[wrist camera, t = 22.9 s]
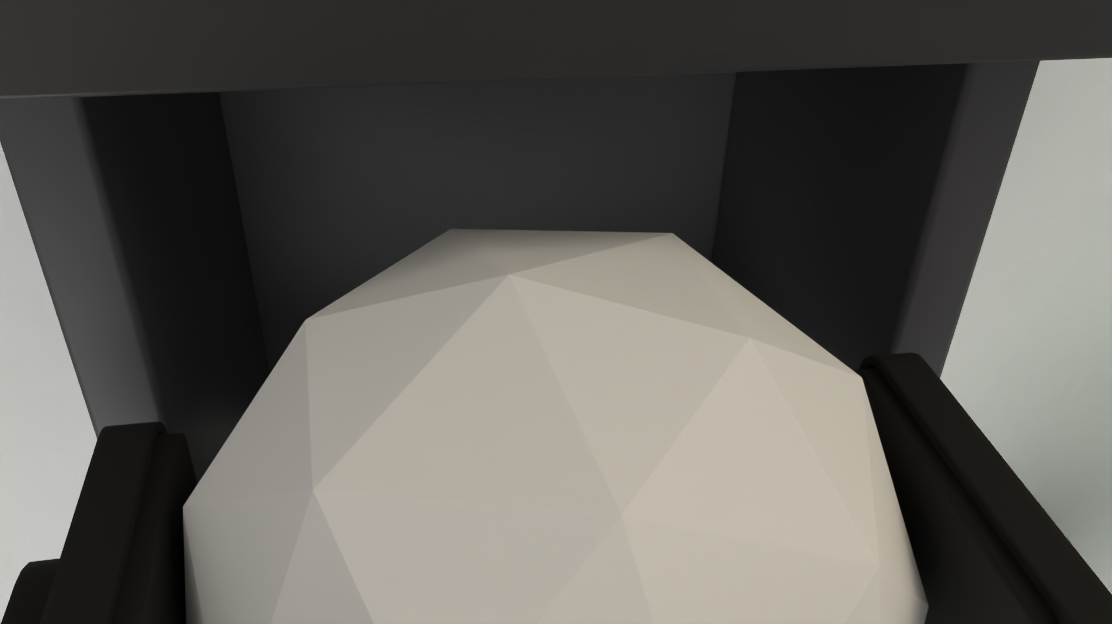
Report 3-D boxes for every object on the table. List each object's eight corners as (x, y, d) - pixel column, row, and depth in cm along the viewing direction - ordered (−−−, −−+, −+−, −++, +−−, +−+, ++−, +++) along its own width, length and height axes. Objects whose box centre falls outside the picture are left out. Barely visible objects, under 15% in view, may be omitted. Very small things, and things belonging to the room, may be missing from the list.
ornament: (312, 618, 15) (-190, 1041, 7) (462, 152, 14) (69, 41, 6) (755, 818, 14) (745, 1597, 6) (955, 324, 13) (1269, 462, 5)
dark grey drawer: (708, 572, 26) (822, 880, 19) (261, 624, 24) (224, 980, 18) (881, -461, 13) (1341, -547, 7) (-1, -503, 12) (-422, -666, 5)
